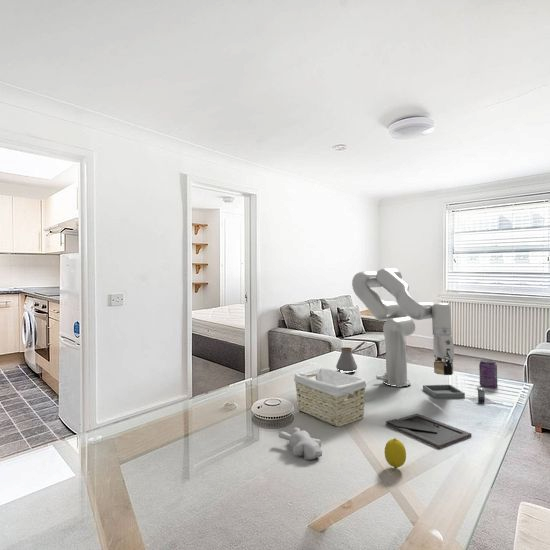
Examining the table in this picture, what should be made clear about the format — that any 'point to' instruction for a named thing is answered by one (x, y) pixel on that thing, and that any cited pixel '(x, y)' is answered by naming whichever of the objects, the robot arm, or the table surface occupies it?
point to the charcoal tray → (443, 391)
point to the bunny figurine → (303, 444)
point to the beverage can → (488, 373)
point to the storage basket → (330, 396)
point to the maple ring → (440, 367)
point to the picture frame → (428, 430)
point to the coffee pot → (347, 359)
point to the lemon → (395, 453)
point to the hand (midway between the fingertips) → (443, 372)
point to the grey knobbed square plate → (481, 397)
